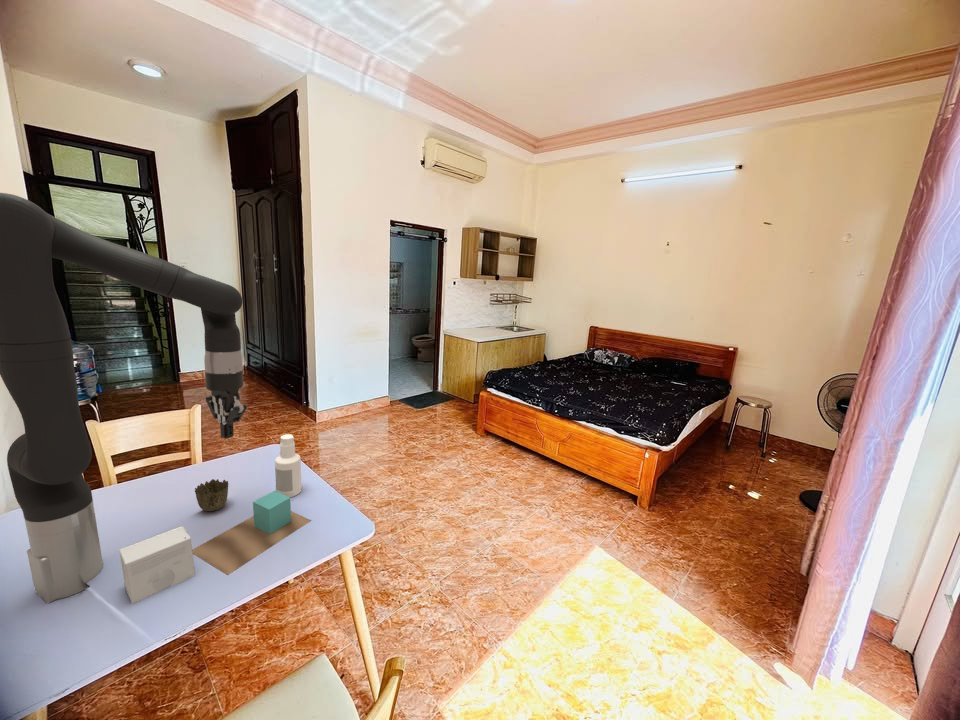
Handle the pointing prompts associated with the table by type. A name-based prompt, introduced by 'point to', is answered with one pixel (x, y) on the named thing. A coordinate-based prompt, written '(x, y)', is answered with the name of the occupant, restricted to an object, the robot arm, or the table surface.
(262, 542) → the board
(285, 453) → the spray bottle
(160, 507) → the table surface
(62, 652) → the table surface
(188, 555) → the skincare box
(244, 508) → the table surface
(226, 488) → the bronze textured bowl
